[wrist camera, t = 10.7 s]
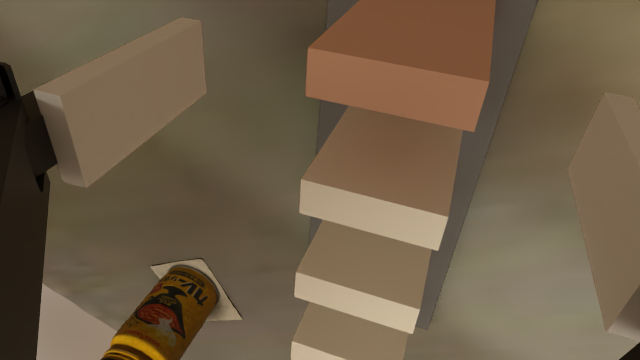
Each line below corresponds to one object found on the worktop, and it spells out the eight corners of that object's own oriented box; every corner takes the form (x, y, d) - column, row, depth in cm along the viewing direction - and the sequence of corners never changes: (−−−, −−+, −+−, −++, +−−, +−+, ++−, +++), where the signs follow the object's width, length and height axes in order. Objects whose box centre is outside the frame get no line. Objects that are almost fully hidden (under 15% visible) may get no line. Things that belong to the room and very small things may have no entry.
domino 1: (486, 30, 25) (474, 132, 15) (377, 12, 26) (305, 96, 17) (496, -5, 24) (489, 81, 14) (382, -22, 25) (307, 47, 16)
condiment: (202, 257, 45) (121, 361, 35) (243, 318, 48) (179, 428, 39) (151, 264, 48) (65, 361, 39) (192, 321, 51) (123, 423, 42)
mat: (307, 287, 42) (305, 291, 41) (338, -94, 24) (335, -93, 24) (428, 324, 39) (427, 329, 39) (558, -69, 22) (560, -67, 21)
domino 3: (440, 192, 31) (412, 334, 22) (355, 171, 32) (294, 296, 23) (446, 170, 30) (419, 309, 21) (358, 150, 31) (295, 272, 22)
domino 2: (460, 121, 28) (438, 251, 19) (365, 101, 29) (299, 213, 20) (468, 93, 27) (448, 217, 17) (369, 74, 28) (300, 179, 19)
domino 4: (424, 250, 34) (393, 396, 25) (347, 229, 36) (290, 360, 26) (429, 233, 33) (399, 377, 24) (350, 211, 35) (291, 341, 25)
